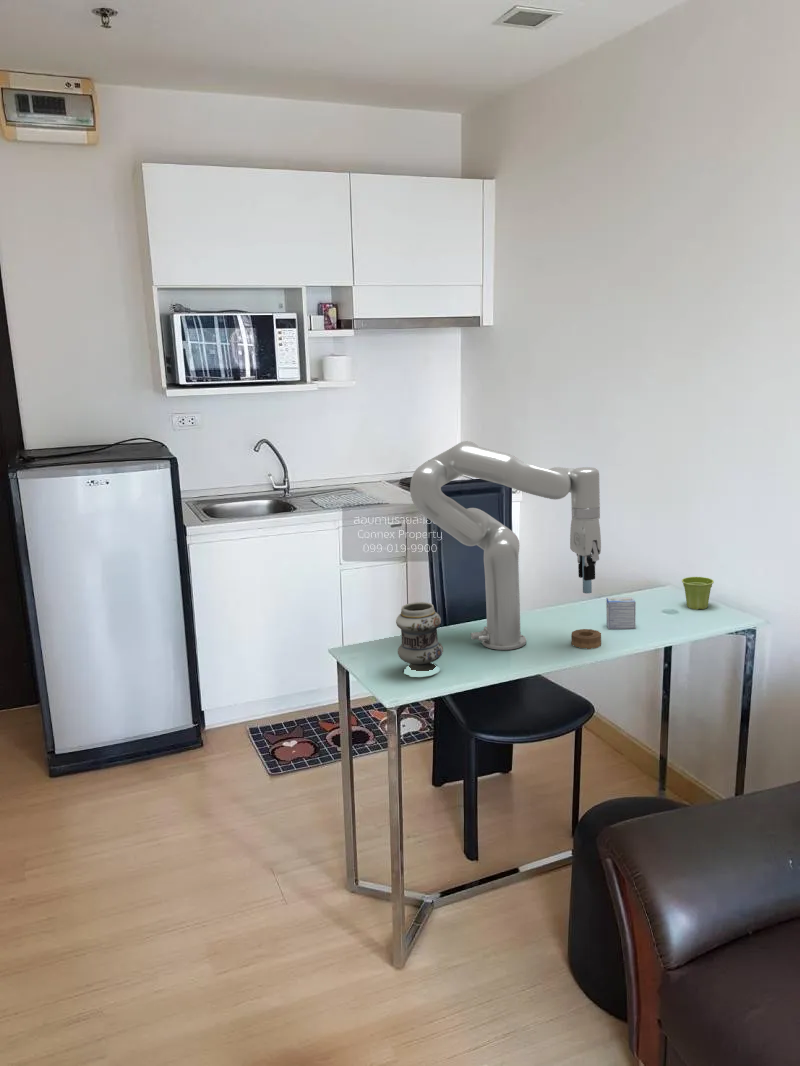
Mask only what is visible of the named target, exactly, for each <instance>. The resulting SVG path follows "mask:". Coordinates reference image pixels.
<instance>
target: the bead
mask: <svg viewBox="0 0 800 1066" xmlns="http://www.w3.org/2000/svg"><path fill="white" fill-rule="evenodd" d="M570 636H571V639H570V641H571V646H573V645H574V646H576V647H575V648H577V647H580V648H579V649H581V648H587V649H586V650H592V649H591V648H593V649H597V648H599V647H601V646H602V632H600V631H599V630H595V629H591V628H590V629H587V628H582V629H576V630H574V631H572V632H571V635H570ZM574 646H573V647H574Z"/></svg>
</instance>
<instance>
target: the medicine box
mask: <svg viewBox="0 0 800 1066" xmlns="http://www.w3.org/2000/svg"><path fill="white" fill-rule="evenodd" d="M605 602H606V626H607V629H608V630H625V629H636V613H637V612H636V611H637V610H636V609H637V607H636V603H637V601H636V600H635V598H634V597H633V596H620V597H619V596H618V597H617V596H615V597H606V601H605Z"/></svg>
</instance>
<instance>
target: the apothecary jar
mask: <svg viewBox="0 0 800 1066" xmlns="http://www.w3.org/2000/svg"><path fill="white" fill-rule="evenodd" d="M400 610H401V611H400V614H398V615H397V617H396V619H395V625H396V626H397V627H398V628H399V629H400V631H401V644H400V645H398V646H399V647H398V648H397V655H398V657H399V659H400V660H401V661H403V662H404V663H407V664H409V667H410V668H411V670H416V671H429V670H433V669H434V668H435V667H436V666H435V665H434V664H435V663H433V662H435V661H438V659H439V658H441V656H443V653H444V647H443V645H442V643H441V642H440V641H439V637H438V631H437V629H438V627H439V626H440V625H441V623H442V622H441V621H442V616H441V615H440V613H438V612H437V611H436V610H435V607H434V604H432V603H430V602H426V601H425V602H424V601H419V602H418V601H417V602H410V603H406V604H404V605H402V606H401V609H400ZM432 663H433V664H432Z"/></svg>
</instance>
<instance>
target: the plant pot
mask: <svg viewBox="0 0 800 1066" xmlns="http://www.w3.org/2000/svg"><path fill="white" fill-rule="evenodd" d="M681 583H682V585H683V587H684V593H685V599H686V601H685V602H686V606H687V608H689V609H690V608H691V610H705V609H707V608H709V607H708V605H709V602H710V595H711V590H712V589H711V588H712V587H713V584H714V579H712V578H709V577H702V576H689V577H684V578H683V579H681Z"/></svg>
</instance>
